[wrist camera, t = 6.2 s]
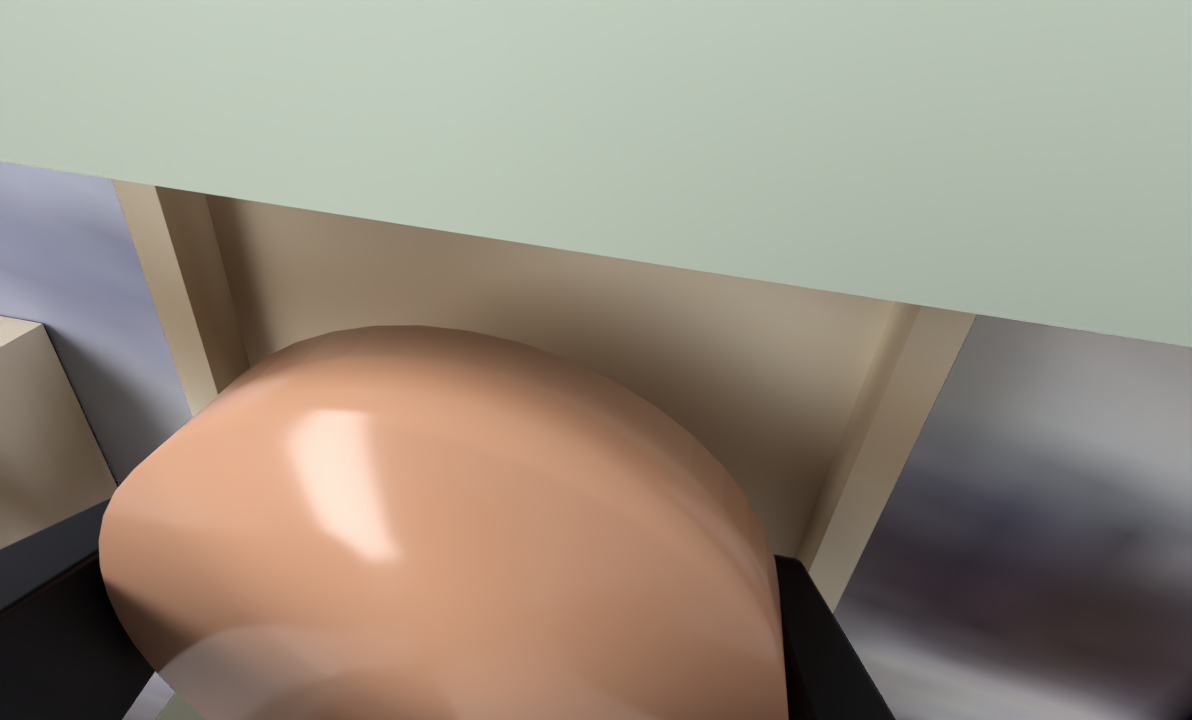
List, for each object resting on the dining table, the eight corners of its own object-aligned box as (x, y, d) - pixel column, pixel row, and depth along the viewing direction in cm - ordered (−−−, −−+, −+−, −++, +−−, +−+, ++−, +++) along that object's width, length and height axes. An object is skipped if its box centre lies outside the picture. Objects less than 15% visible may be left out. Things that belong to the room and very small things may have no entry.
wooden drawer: (783, 684, 15) (800, 930, 11) (301, 579, 16) (171, 771, 13) (1175, -169, 6) (1795, -320, 3) (79, -258, 8) (-561, -451, 4)
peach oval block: (868, 399, 6) (907, 523, 5) (712, 782, 11) (709, 901, 9) (115, 269, 7) (-29, 346, 6) (263, 677, 11) (201, 773, 10)
